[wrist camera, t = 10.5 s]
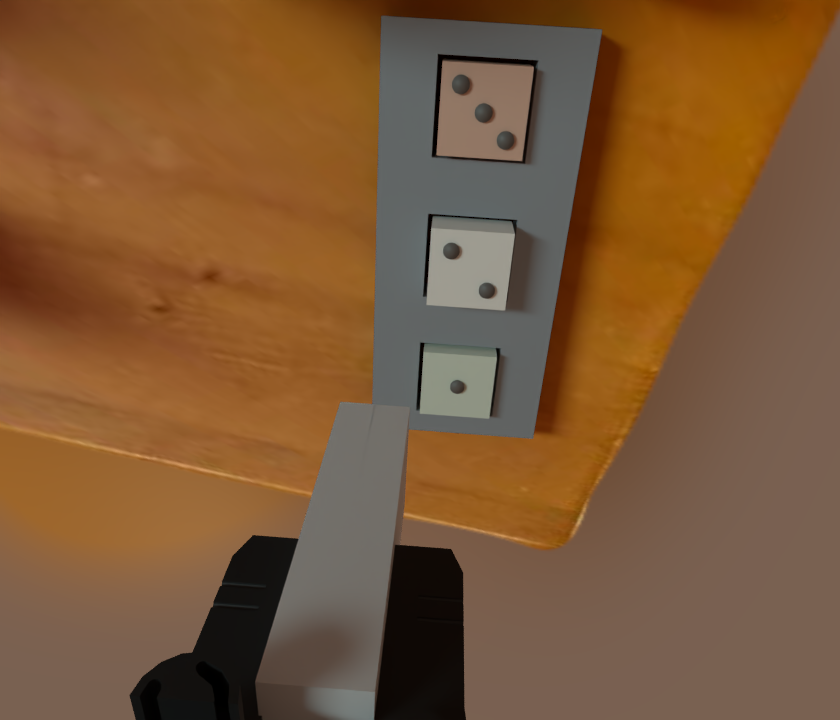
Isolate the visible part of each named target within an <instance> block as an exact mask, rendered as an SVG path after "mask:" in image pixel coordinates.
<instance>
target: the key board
mask: <svg viewBox="0 0 840 720" xmlns="http://www.w3.org/2000/svg"><path fill="white" fill-rule="evenodd" d="M601 35H602V30H601V29H589V28H573V27H557V26H541V25H525V24H509V23H493V22H477V21H461V20H445V19H429V18H413V17H397V16H381V53H380V97H379V140H378V184H377V228H376V271H375V315H374V359H373V402H372V404H375V405H389V406H402V407H410V414H409V429H412V430H425V431H438V432H451V433H465V434H478V435H491V436H505V437H518V438H531V439H533V435H534V429H535V424H536V418H537V412H538V406H539V400H540V394H541V388H542V382H543V376H544V371H545V365H546V359H547V353H548V347H549V341H550V335H551V329H552V323H553V317H554V312H555V306H556V300H557V294H558V288H559V282H560V276H561V270H562V264H563V259H564V253H565V247H566V241H567V235H568V229H569V223H570V217H571V211H572V205H573V200H574V194H575V188H576V182H577V176H578V170H579V164H580V158H581V152H582V147H583V141H584V135H585V129H586V123H587V117H588V111H589V105H590V99H591V93H592V88H593V82H594V76H595V70H596V64H597V58H598V52H599V46H600V40H601ZM439 54H445V55H461V56H477V57H492V58H508V59H524V60H534V61H533V67H534V71H533V79H532V86H531V94H530V102H529V110H528V118H527V126H526V134H525V141H524V149H523V157H522V161H513V160H498V159H483V158H468V157H454V156H439V155H436V154H437V150H433V140H434V124H435V108H436V92H437V76H438V60H439ZM429 214H439V215H454V216H468V217H483V218H497V219H512V220H513V228H514V232H515V238H514V245H513V253H512V261H511V269H510V276H509V284H508V292H507V300H506V307H505V311H504V310H490V309H476V308H462V307H448V306H434V305H426V303H427V288H428V283H425V269H426V253H427V237H428V221H429ZM421 343H435V344H449V345H463V346H477V347H490V348H497V361H496V369H495V377H494V385H493V393H492V400H491V408H490V416H489V419H486V418H472V417H459V416H445V415H432V414H420V400H421V393H418V381H419V365H420V349H421Z"/></svg>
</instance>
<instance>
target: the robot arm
mask: <svg viewBox="0 0 840 720" xmlns="http://www.w3.org/2000/svg"><path fill="white" fill-rule="evenodd" d="M409 414H410V407H402V406H389V405H375V404H362V403H349V402H340V405H339V408H338V411H337V415H336V418H335V421H334V425H333V428H332V431H331V434H330V438H329V441H328V444H327V448H326V451H325V454H324V457H323V461H322V464H321V467H320V471H319V474H318V477H317V480H316V484H315V487H314V490H313V494H312V497H311V500H310V504H309V507H308V510H307V513H306V516H305V520H304V523H303V527H302V530H301V533H300V536H299V539H293V538H281V537H269V536H256V535H253V536H252V537H251V538H250V539H249V540H248V541H247V542H246V543H245V544H244V545H243V546H242V547H241V548H240V549H239V550H238V551H237V552H236V553H235V554H234V555H233V556H232V559H231V561H230V564H229V566H228V568H227V571H226V573H225V576H224V579H223V581H222V586H220V588H219V590H218V593H217V595H216V597H215V600H214V604H213V607H212V608H211V609H210V612H209V614H208V616H207V619H206V621H205V624H204V626H203V628H202V631H201V633H200V636H199V638H198V640H197V643H196V645H195V648H194V650H193V652H192V653H183V654H180V655H177V656H175V657H173V658H170V659H168V660H165V661H163V662H161V663H160V664H158V665H157V666H156V667H154V668H153V669H152V670H151V671H149V672H148V673H147V674H145V675H144V676H143V677H142V678H141V680H140V681H139V683H138V684H137V686H136V687H135V688H134V690H133V691H132V693H131V694H130V699H131V702H132V706H133V711H134V714H135V718H136V720H466V717H465V709H464V626H463V572H462V570H461V568H460V566H459V564H458V562H457V560H456V558H455V556H454V554H453V552H452V550H451V549H443V548H430V547H418V546H405V545H400V540H401V531H402V522H403V513H404V503H405V485H406V467H407V449H408V431H409Z"/></svg>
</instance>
